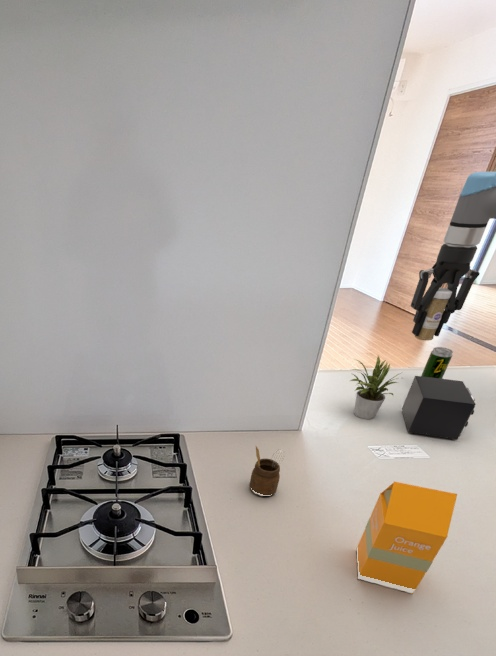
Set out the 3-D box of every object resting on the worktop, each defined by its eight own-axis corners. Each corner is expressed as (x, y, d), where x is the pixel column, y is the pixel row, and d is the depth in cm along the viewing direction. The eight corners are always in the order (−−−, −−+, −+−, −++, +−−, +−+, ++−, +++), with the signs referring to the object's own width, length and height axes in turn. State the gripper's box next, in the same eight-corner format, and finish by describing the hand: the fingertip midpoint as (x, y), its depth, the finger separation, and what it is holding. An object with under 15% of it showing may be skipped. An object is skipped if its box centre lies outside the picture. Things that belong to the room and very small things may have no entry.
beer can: (413, 383, 138) (428, 347, 131) (428, 381, 138) (443, 346, 131) (426, 391, 133) (442, 354, 126) (441, 389, 134) (458, 352, 127)
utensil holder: (280, 497, 97) (291, 453, 90) (252, 499, 96) (261, 455, 89) (270, 480, 101) (280, 437, 94) (244, 482, 101) (252, 439, 94)
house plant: (332, 397, 132) (347, 346, 123) (382, 402, 129) (402, 350, 119) (338, 422, 121) (355, 367, 111) (394, 428, 117) (416, 372, 108)
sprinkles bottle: (423, 342, 121) (443, 292, 113) (410, 336, 125) (428, 288, 117) (436, 339, 122) (457, 290, 114) (423, 334, 126) (442, 286, 118)
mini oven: (450, 417, 121) (468, 381, 115) (462, 442, 111) (482, 405, 105) (400, 410, 125) (415, 375, 118) (407, 434, 115) (423, 397, 109)
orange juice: (355, 549, 84) (390, 467, 72) (408, 562, 81) (453, 479, 69) (357, 580, 78) (395, 497, 66) (413, 595, 75) (464, 511, 64)
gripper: (490, 241, 111) (452, 330, 125) (416, 242, 114) (386, 329, 127) (507, 247, 105) (465, 339, 118) (428, 247, 107) (396, 338, 121)
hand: (425, 334), depth 123 cm, fingers closed on sprinkles bottle, 4 cm apart
